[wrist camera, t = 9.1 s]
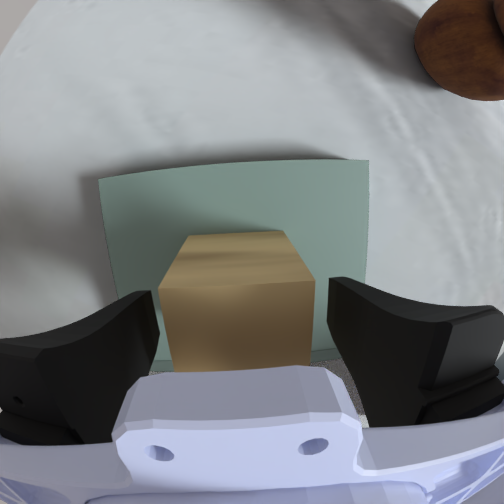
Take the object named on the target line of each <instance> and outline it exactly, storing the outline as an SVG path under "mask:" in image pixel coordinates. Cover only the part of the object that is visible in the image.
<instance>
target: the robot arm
mask: <svg viewBox="0 0 504 504" xmlns="http://www.w3.org/2000/svg"><path fill="white" fill-rule="evenodd" d="M326 322H327V325H328V328H329V331H330V334H331V337H332V339H333V341H334V343H335V345H336V347H337V349H338V351H339V353H340V355H341V357H342V359H343V361H344V362H345V364H346V366H347V368H348V370H349V372H350V374H351V376H352V378H353V380H354V382H355V384H356V387H357V390H358V393H359V395H360V398H361V401H362V404H363V407H364V411H365V414H366V417H367V420H368V424H369V428H362V426H361V421H360V419H359V417H358V414H357V412H356V410H355V407H354V405H353V403H352V401H351V398H350V396H349V394H348V392H347V389H346V387H345V385H344V383H343V380H342V379H341V378H339V377H338V376H336V375H335V374H333V373H332V372H330V371H329V370H327V369H326V368H324V367H311V366H299V365H294V366H284V367H275V368H264V369H251V370H236V371H216V372H165V373H160V374H155V375H150V376H148V374H149V371H150V369H151V366H152V363H153V360H154V358H155V355H156V352H157V347H158V342H159V337H160V330H159V326H158V321H157V317H156V312H155V308H154V303H153V298H152V293H151V290H142V291H135V292H132V293H130V294H128V295H126V296H124V297H122V298H121V299H119V300H117V301H115V302H114V303H112V304H110V305H108V306H107V307H105V308H103V309H101V310H99V311H97V312H95V313H93V314H92V315H90V316H88V317H86V318H84V319H81V320H79V321H77V322H74V323H72V324H69V325H67V326H64V327H60V328H57V329H54V330H51V331H47V332H44V333H39V334H35V335H29V336H24V337H15V338H4V339H0V407H1V409H2V412H1V413H0V499H1V500H2V501H4V502H6V503H7V504H504V380H503V381H502V382H501V381H500V380H499V379H498V378H497V377H496V376H498V374H499V369H498V368H497V367H496V366H495V365H494V364H495V361H496V359H497V357H498V354H499V352H500V349H501V346H502V344H503V341H504V315H503V313H502V312H501V311H499V310H498V309H496V308H495V307H494V306H491V305H486V306H445V305H436V304H429V303H423V302H418V301H414V300H410V299H406V298H402V297H399V296H395V295H393V294H390V293H387V292H384V291H381V290H379V289H376V288H374V287H371V286H369V285H366V284H364V283H361V282H359V281H356V280H354V279H351V278H348V277H344V276H342V277H331V278H329V285H328V304H327V320H326Z"/></svg>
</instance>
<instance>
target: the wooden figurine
mask: <svg viewBox="0 0 504 504" xmlns="http://www.w3.org/2000/svg"><path fill="white" fill-rule="evenodd" d="M414 43H415V50H416V52H417V54H418V57H419V59H420V61H421V63H422V65H423V66H424V68H425V70H426V71H427V72H428V74H429V75H430V76H431V77H432V78H433V79H434V81H435V82H437V83H438V84H439V85H440V86H441V87H442V88H444V89H445V90H448V91H450V92H452V93H454V94H457V95H459V96H461V97H465V98H468V99H472V100H480V101H498V100H504V0H438V1H437V2H435V3H434V4H433V5H432V6H431V7H430V8H429V9H428V10H427V11H426V12H425V13H424V15H423V16H422V18H421V19H420V21H419V23H418V25H417V28H416V30H415V35H414Z"/></svg>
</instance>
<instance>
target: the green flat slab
mask: <svg viewBox="0 0 504 504" xmlns="http://www.w3.org/2000/svg"><path fill="white" fill-rule="evenodd" d="M98 183H99V192H100V201H101V208H102V216H103V222H104V229H105V235H106V241H107V247H108V252H109V257H110V263H111V267H112V272H113V277H114V282H115V286H116V290H117V295H118V299H121V298H122V297H124V296H126V295H128V294H130V293H132V292H135V291H142V290H151V293H152V298H153V303H154V308H155V312H156V317H157V321H158V326H159V330H160V337H159V342H158V347H157V352H156V355H155V358H154V360H153V363H152V366H151V369H150V371H156V372H174V368H173V363H172V359H171V354H170V350H169V345H168V340H167V336H166V331H165V326H164V320H163V315H162V310H161V304H160V298H159V293H158V287H159V285H160V284H161V282H162V280H163V278H164V277H165V275H166V273H167V271H168V270H169V268H170V266H171V264H172V263H173V261H174V259H175V258H176V256H177V254H178V252H179V251H180V249H181V247H182V246H183V244H184V242H185V241H186V239H187V237H188V236H190V235H208V234H226V233H245V232H266V231H284V233H285V234H286V236H287V237H288V239H289V240H290V242H291V243H292V245H293V246H294V248H295V249H296V251H297V252H298V254H299V255H300V257H301V259H302V260H303V262H304V263H305V265H306V266H307V268H308V269H309V271H310V272H311V274H312V276H313V277H314V279H315V280H316V282H315V302H314V319H313V334H312V347H311V359H310V363H312V362H319V361H326V360H333V359H339V358H342V357H341V355H340V353H339V351H338V349H337V347H336V345H335V343H334V341H333V339H332V337H331V334H330V331H329V328H328V325H327V322H326V320H327V304H328V285H329V278H331V277H342V276H344V277H348V278H351V279H354V280H356V281H359V282H361V283H364V284H365V274H366V260H367V244H368V220H369V160H343V159H309V160H271V161H251V162H234V163H221V164H209V165H198V166H187V167H178V168H169V169H161V170H153V171H145V172H138V173H131V174H125V175H118V176H112V177H106V178H101V179H98Z"/></svg>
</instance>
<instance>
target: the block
mask: <svg viewBox="0 0 504 504" xmlns="http://www.w3.org/2000/svg"><path fill="white" fill-rule="evenodd" d="M315 282H316V280H315V279H314V277H313V276H312V274H311V272H310V271H309V269H308V268H307V266H306V265H305V263H304V262H303V260H302V259H301V257H300V255H299V254H298V252H297V251H296V249H295V248H294V246H293V245H292V243H291V242H290V240H289V239H288V237H287V236H286V234H285V233H284V231H266V232H245V233H226V234H208V235H190V236H188V237H187V239H186V241H185V242H184V244H183V246H182V247H181V249H180V251H179V252H178V254H177V256H176V258H175V259H174V261H173V263H172V264H171V266H170V268H169V270H168V271H167V273H166V275H165V277H164V278H163V280H162V282H161V284H160V285H159V287H158V293H159V298H160V304H161V310H162V315H163V320H164V326H165V331H166V336H167V340H168V345H169V350H170V354H171V359H172V363H173V368H174V372H216V371H236V370H251V369H264V368H275V367H284V366H294V365H299V366H310V359H311V347H312V334H313V319H314V302H315Z"/></svg>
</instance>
